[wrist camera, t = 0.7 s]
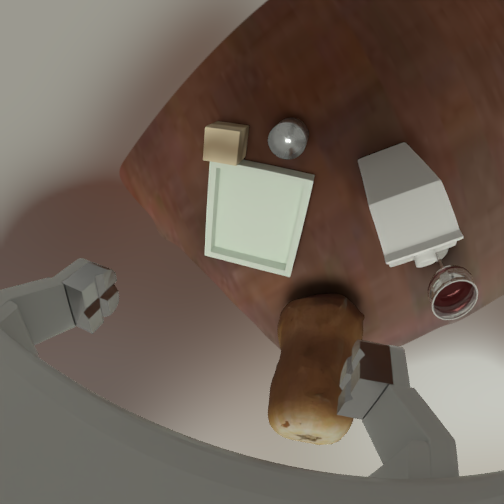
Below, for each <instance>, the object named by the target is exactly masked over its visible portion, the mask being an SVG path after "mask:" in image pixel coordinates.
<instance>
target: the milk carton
mask: <svg viewBox="0 0 504 504" xmlns="http://www.w3.org/2000/svg"><path fill="white" fill-rule="evenodd" d="M358 164H359V168H360V172H361V176H362V179H363V183H364V188H365V192H366V196H367V200H368V205H369V209H370V212H371V215H372V218H373V221H374V224H375V227H376V230H377V233H378V236H379V240H380V243H381V246H382V250H383V253H384V257H385V262H386V264H389V266H390V267H393V266H397V265H400V264H403V263H406V262H409V261H412V260H415V264H416V267H425V266H428V265H430V264H433V263H434V262H436V261H437V256H436V254H435V253H436V252H439V251H442V250H444V249H447V248H450V247H453V246H455V245H456V242H457V241H458V240H461V239H463V238H464V237H463V235H462V233H461V231H460V229H459V226H458V224H457V221H456V218H455V215H454V212H453V209H452V207H451V204H450V201H449V199H448V196H447V193H446V191H445V188H444V186H443V184H442V181H441V180H440V179H439V178H438V177H437V175H436V174H435V173H434V172H433V171H432V170H431V169H430V168H429V166H428V165H427V164H426V163H425V162H424V161H423V160H422V159H421V158H420V157H419V156H418V155H417V154H416V153H415V152H414V151H413V150H412V149H411V148H410V147H409V146H408V145H407V144H406V143H405V142H403V143H400V144H398V145H395V146H392V147H389V148H387V149H384V150H381V151H379V152H376V153H373V154H371V155H368V156H365V157H363V158H360V159H358Z"/></svg>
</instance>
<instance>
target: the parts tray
mask: <svg viewBox="0 0 504 504" xmlns="http://www.w3.org/2000/svg"><path fill="white" fill-rule="evenodd" d="M314 176H315V175H313V174H308V173H304V172H300V171H295V170H291V169H287V168H282V167H277V166H273V165H268V164H263V163H258V162H253V161H248V160H242V161H241V162H240V163H239V164H238V165H237V166H234V165H228V164H223V163H217V162H211V161H210V167H209V181H208V197H207V214H206V235H205V255H206V256H209V257H213V258H217V259H221V260H225V261H229V262H232V263H236V264H240V265H244V266H248V267H252V268H256V269H260V270H264V271H267V272H271V273H275V274H279V275H283V276H287V277H290V275H291V272H292V268H293V264H294V260H295V256H296V252H297V248H298V244H299V240H300V236H301V232H302V228H303V224H304V220H305V216H306V211H307V207H308V203H309V199H310V194H311V190H312V186H313V181H314Z"/></svg>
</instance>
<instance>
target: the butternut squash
mask: <svg viewBox="0 0 504 504" xmlns="http://www.w3.org/2000/svg"><path fill="white" fill-rule="evenodd" d="M363 320H364V315H363V314H362V313H361V312H360V311H359V310H358V309H357V308H356V306H355V305H354V304H353V303H352V302H351V301H350V300H348V299H347V298H346V297H344V296H343V295H341V294H337V293H331V294H318V295H313V296H309V297H305V298H301V299H297V300H294V301H291V302H290V303H288V304H287V306H286V307H285V308H284V309H283V310H282V312H281V314H280V319H279V323H278V329H277V330H278V339H279V344H280V348H281V355H280V360H279V362H278V364H277V367H276V371H275V374H274V377H273V379H272V383H271V387H270V398H269V406H268V418H269V423H270V425H271V427H272V428H273V429H274V430H275V431H276V432H277V433H278V434H279V435H281V436H282V437H285V438H288V439H291V440H297V441H301V442H307V443H312V444H317V445H323V444H333V443H335V442H338V441H339V440H341V438H342V437H343V436H344V435H345V434H346V433H347V432H348V430H349V428H350V426H351V424H352V421H353V418H351V417H346V416H341V415H337V407H338V397H339V396H340V394H341V392H342V389H341V388H340V386H339V385H340V377H341V372H342V369H343V366H344V364H345V362H346V360H347V358H348V357H350V356H352V347H353V345H354V343H355V342H356V340H357V339H360V340H362V336H363Z"/></svg>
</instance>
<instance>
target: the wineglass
mask: <svg viewBox="0 0 504 504" xmlns="http://www.w3.org/2000/svg"><path fill="white" fill-rule="evenodd" d="M447 252H448V248H447V249H444V250H442V251H439V252H436V253H435V254H436V256H437V261H438V263H439V265H440V268H441V269H440V270H438V271H437V272H436V273H435V274H434V275H433V277H432V279H431V280H430V284H429V287H428V297H429V301H430V303H431V305H432V311H433V313H434V315H435V316H437V317H438V318H440V319H443V320H453V319H457V318H459V317H461V316H463V315H465V314H466V313H468V312H469V311H470V310H471V309H472V308H473V306H474V305H475V303H476V301H477V298H478V290H477V287H476V286H475V285H474V281H473V278H472V276H471V274H470V273H469V272H468V271H467V270H466V269H465V268H463V267H461V266H459V265H449V266H444V264H443V262H442V260H441V259H442V258H443V257H444V256H445V255H446V254H447ZM437 261H436V262H437Z"/></svg>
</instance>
